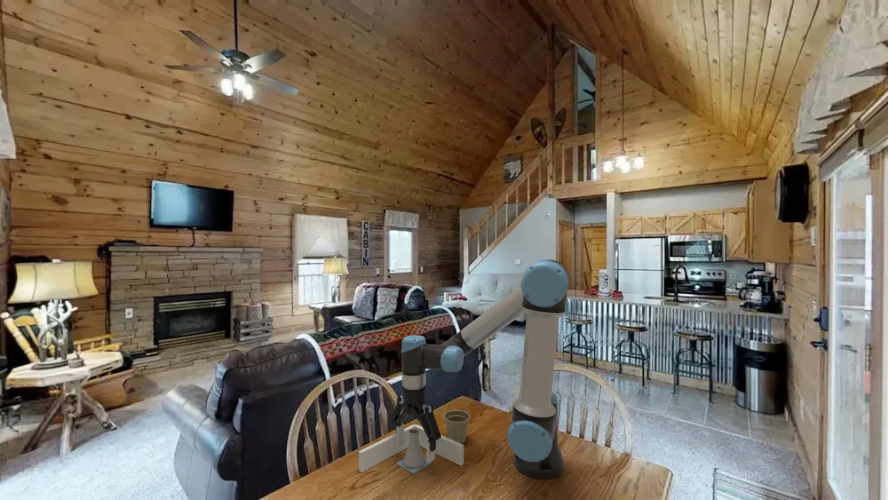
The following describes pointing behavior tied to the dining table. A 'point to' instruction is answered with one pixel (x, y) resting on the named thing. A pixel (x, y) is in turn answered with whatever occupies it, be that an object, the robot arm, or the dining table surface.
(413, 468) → the pad
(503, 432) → the dining table surface
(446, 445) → the corner wall
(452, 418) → the flower pot
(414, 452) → the flask
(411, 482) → the dining table surface
